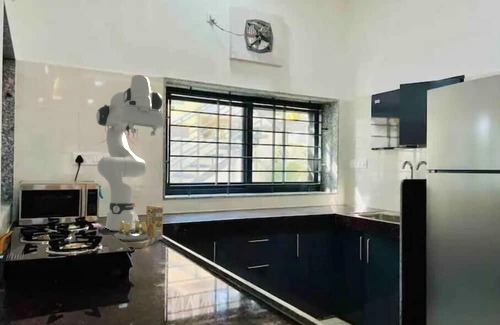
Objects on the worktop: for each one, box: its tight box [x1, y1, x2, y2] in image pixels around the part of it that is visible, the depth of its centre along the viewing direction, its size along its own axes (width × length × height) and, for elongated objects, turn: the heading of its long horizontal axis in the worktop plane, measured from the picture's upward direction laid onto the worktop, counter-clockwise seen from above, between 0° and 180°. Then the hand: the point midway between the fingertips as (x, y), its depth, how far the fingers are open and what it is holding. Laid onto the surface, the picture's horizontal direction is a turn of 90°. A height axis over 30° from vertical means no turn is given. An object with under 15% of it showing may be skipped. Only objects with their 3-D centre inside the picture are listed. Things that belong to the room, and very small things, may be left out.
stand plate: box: [122, 236, 159, 249], centre depth 169 cm, size 18×17×2 cm
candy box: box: [145, 205, 164, 241], centre depth 183 cm, size 9×4×15 cm, turn 44°
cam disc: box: [113, 219, 148, 241], centre depth 168 cm, size 14×14×7 cm
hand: (143, 134), depth 178 cm, fingers open, 8 cm apart
